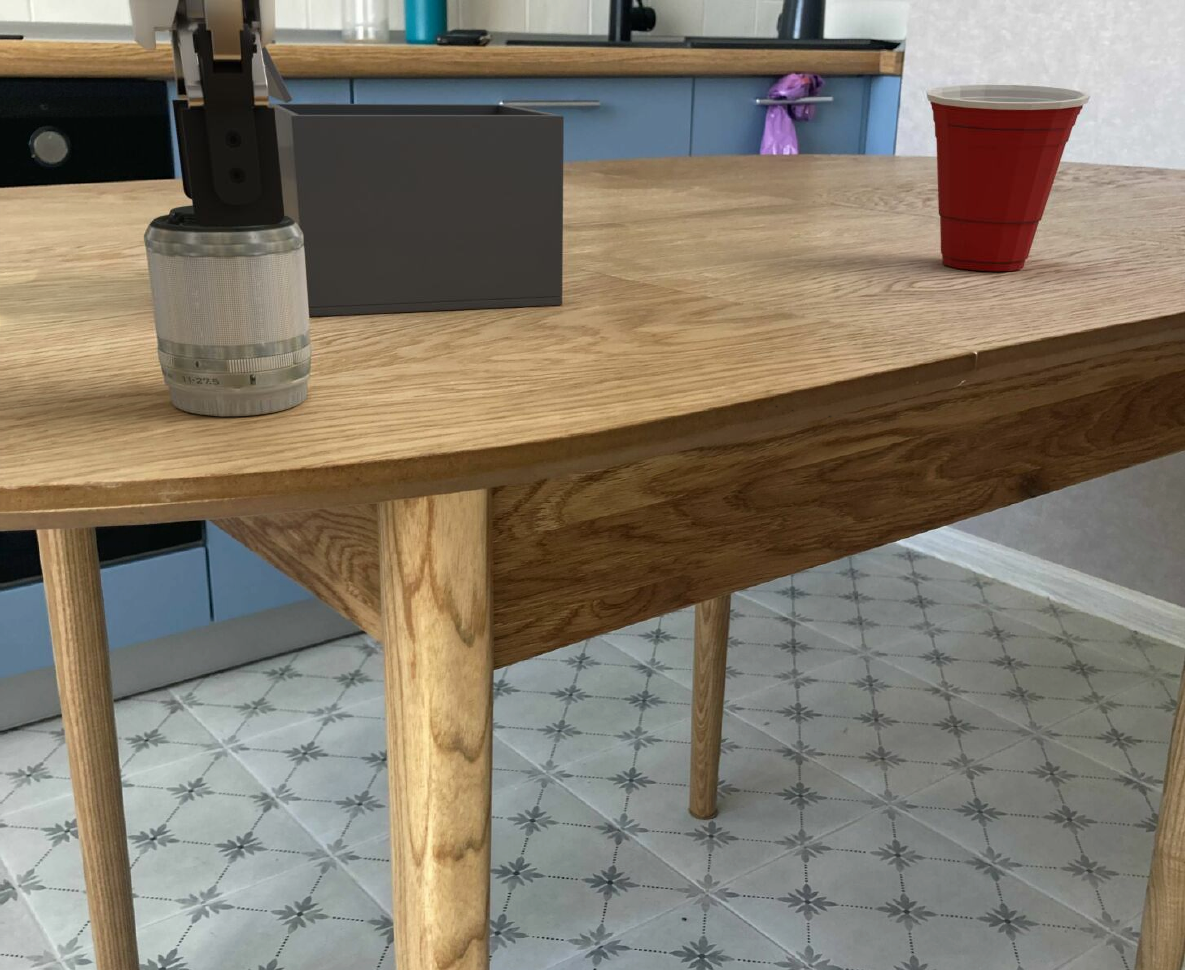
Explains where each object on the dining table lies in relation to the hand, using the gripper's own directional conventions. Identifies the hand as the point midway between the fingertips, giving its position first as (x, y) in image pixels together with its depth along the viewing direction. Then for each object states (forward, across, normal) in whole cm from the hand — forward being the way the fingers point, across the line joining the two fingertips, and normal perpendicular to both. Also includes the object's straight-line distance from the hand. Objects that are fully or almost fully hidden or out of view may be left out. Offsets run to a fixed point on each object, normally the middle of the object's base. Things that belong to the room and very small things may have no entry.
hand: (230, 210), depth 51 cm
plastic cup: (+8, -25, +54) cm, 59 cm away
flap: (-7, -24, +3) cm, 25 cm away
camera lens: (+8, 0, 0) cm, 8 cm away
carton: (+8, -24, +12) cm, 28 cm away
